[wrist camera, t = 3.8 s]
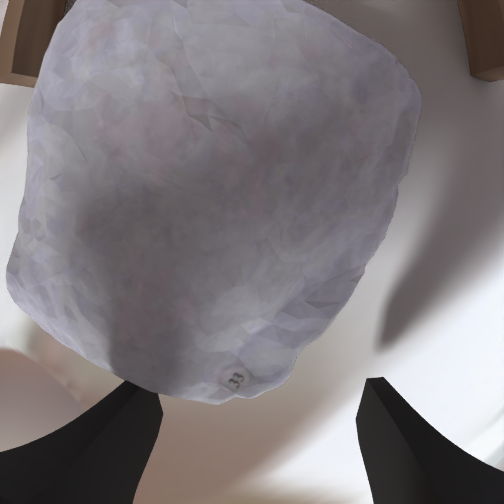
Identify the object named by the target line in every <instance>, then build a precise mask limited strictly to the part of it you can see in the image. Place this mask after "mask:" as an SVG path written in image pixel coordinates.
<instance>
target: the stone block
mask: <svg viewBox="0 0 504 504" xmlns="http://www.w3.org/2000/svg"><path fill="white" fill-rule="evenodd" d="M421 109H422V106H421V93H420V91H419V89H418V87H417V85H416V83H415V81H414V79H412V78H410V76H409V72H408V70H407V69H406V68H405V67H404V66H403V65H402V64H401V63H400V61H399V60H398V58H397V57H396V56H395V55H394V54H393V53H392V52H390V51H389V50H387V49H386V48H385V47H384V46H383V45H382V44H380V43H378V42H377V41H375V40H373V39H371V38H369V37H367V36H366V35H365V34H362V33H360V32H358V31H355V30H354V29H353V27H351V26H349V25H347V24H346V23H344V22H342V21H340V20H339V19H337V18H336V17H334V16H332V15H331V14H329V13H327V12H326V11H324V10H322V9H320V8H318V7H316V6H314V5H312V4H310V3H308V2H306V1H304V0H77V1H76V2H75V3H74V5H73V7H72V8H71V10H69V12H68V13H67V14H66V15H65V17H64V18H63V19H62V20H61V21H60V22H59V23H58V25H57V27H56V29H55V32H54V34H53V36H52V39H51V42H50V44H49V47H48V49H47V51H46V53H45V55H44V58H43V62H42V66H41V69H40V73H39V77H38V79H37V82H36V84H35V87H34V91H33V98H32V102H31V106H30V110H29V114H28V126H27V140H28V157H27V172H26V183H25V191H24V197H23V200H22V203H21V207H20V210H19V217H18V234H17V237H16V240H15V243H14V246H13V249H12V252H11V256H10V258H9V261H8V264H7V270H6V283H7V289H8V291H9V293H10V295H11V297H12V299H13V301H14V302H15V303H16V304H17V305H18V306H19V307H20V308H21V309H22V310H23V311H24V312H25V313H26V314H28V315H29V316H30V317H32V318H33V319H34V320H35V321H36V322H37V323H38V324H39V325H40V326H41V328H42V329H43V330H45V331H46V332H47V333H48V334H50V335H52V336H53V337H54V338H55V339H57V340H58V341H59V342H60V343H62V344H63V345H65V346H67V347H69V348H71V349H73V350H75V351H76V352H77V353H79V354H80V355H81V356H83V357H84V358H86V359H87V360H89V361H90V362H92V363H94V364H95V365H97V366H99V367H101V368H103V369H105V370H107V371H109V372H111V373H113V374H115V375H116V376H118V377H120V378H121V379H123V380H125V381H129V382H131V383H133V384H135V385H137V386H140V387H142V388H144V389H146V390H148V391H150V392H154V393H159V394H164V395H168V396H173V397H178V398H182V399H187V400H194V401H200V402H204V403H208V404H217V405H220V404H222V403H224V402H226V401H228V400H230V399H232V398H234V397H241V398H246V399H250V398H255V397H257V396H259V395H261V394H263V393H264V392H267V391H269V390H272V389H274V388H276V387H279V386H281V385H282V384H283V383H284V382H285V381H286V380H287V379H288V378H289V376H290V374H291V371H292V369H293V366H294V363H295V361H296V358H297V356H298V355H299V353H300V352H301V351H302V350H303V349H304V347H305V346H306V345H307V344H309V343H311V342H312V341H314V340H316V339H317V338H318V337H320V336H321V335H322V334H323V333H324V332H325V330H326V329H327V328H328V327H329V326H330V325H331V323H332V322H333V320H334V319H335V317H336V316H337V315H338V313H339V312H340V311H341V309H342V308H343V307H344V306H345V304H346V303H347V302H348V300H349V298H350V297H351V295H352V293H353V292H354V290H355V288H356V286H357V284H358V283H359V281H360V279H361V277H362V276H363V274H364V270H365V266H366V264H367V263H368V262H369V260H370V259H371V258H372V257H373V255H374V254H375V252H376V250H377V249H378V247H379V245H380V244H381V242H382V241H383V240H384V238H385V235H386V231H387V228H388V225H389V223H390V221H391V219H392V217H393V214H394V210H395V207H396V202H397V196H398V183H399V182H400V181H401V180H402V178H403V177H404V176H405V175H406V174H407V172H408V163H409V158H410V154H411V150H412V145H413V142H414V140H415V135H416V130H417V126H418V122H419V118H420V113H421Z"/></svg>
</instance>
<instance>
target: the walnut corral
mask: <svg viewBox="0 0 504 504" xmlns="http://www.w3.org/2000/svg"><path fill="white" fill-rule="evenodd" d="M457 2H458V6H459V10H460V14H461V18H462V23H463V28H464V33H465V38H466V44H467V50H468V57H469V64H470V72H471V76H474V77H477V78H480V79H483V80H486V81H489V82H493V81H497V80H502V79H504V0H457ZM65 4H66V0H9V3H8V6H7V10H6V14H5V18H4V22H3V27H2V31H1V36H0V83H5V84H12V85H19V86H26V87H32V88H34V87H35V84H36V82H37V79H38V77H39V73H40V69H41V66H42V62H43V58H44V55H45V53H46V51H47V49H48V47H49V44H50V42H51V39H52V36H53V34H54V32H55V29H56V27H57V25H58V23H59V22H60V21H61V20H62V19H63V14H64V9H65Z"/></svg>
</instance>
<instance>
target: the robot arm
mask: <svg viewBox="0 0 504 504" xmlns="http://www.w3.org/2000/svg"><path fill="white" fill-rule="evenodd" d="M162 417H163V411H162V407H161V404H160V400H159V397H158V393H154V392H150V391H148V390H146V389H144V388H142V387H140V386H137V385H135V384H133V383H131V382H129V381H124V382H123V383H122V384H121V385H120V386H118V387H117V388H116V389H115V390H113V391H112V392H111V393H110V394H108V395H107V396H106V397H105V398H103V399H102V400H101V401H100V402H98V403H97V404H96V405H94V406H93V407H92V408H90V409H89V410H87V411H86V412H85V413H83V414H82V415H80V416H79V417H77V418H76V419H75V420H73V421H71V422H70V423H68V424H67V425H65V426H63V427H61V428H60V429H58V430H56V431H54V432H52V433H50V434H48V435H46V436H44V437H42V438H39V439H37V440H35V441H33V442H30V443H28V444H25V445H23V446H20V447H16V448H13V449H10V450H6V451H3V452H0V504H132V503H133V499H134V496H135V492H136V489H137V486H138V483H139V481H140V479H141V476H142V474H143V471H144V469H145V466H146V464H147V462H148V459H149V457H150V454H151V452H152V449H153V447H154V444H155V442H156V439H157V437H158V433H159V429H160V425H161V421H162ZM356 425H357V433H358V440H359V446H360V450H361V453H362V457H363V461H364V465H365V469H366V472H367V476H368V480H369V484H370V488H371V492H372V497H373V502H374V504H504V472H503V471H501V470H499V469H496V468H494V467H492V466H490V465H488V464H486V463H484V462H482V461H480V460H479V459H477V458H475V457H473V456H472V455H470V454H468V453H467V452H465V451H464V450H462V449H461V448H459V447H458V446H456V445H455V444H454V443H452V442H451V441H449V440H448V439H447V438H446V437H444V436H443V435H442V434H441V433H439V432H438V431H437V430H436V429H435V428H434V427H432V426H431V425H430V424H429V423H428V422H427V421H426V420H425V419H424V418H423V417H421V416H420V415H419V414H418V413H417V412H416V411H415V410H414V409H413V408H412V407H411V406H410V405H409V404H408V403H407V401H406V400H405V399H404V398H403V397H402V396H401V395H400V394H399V393H398V392H397V391H396V390H395V389H394V388H393V387H392V386H391V385H390V383H389V382H388V381H387V380H386V379H385V378H384V377H378V378H367V379H366V383H365V387H364V390H363V394H362V398H361V402H360V405H359V409H358V412H357V416H356Z"/></svg>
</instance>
